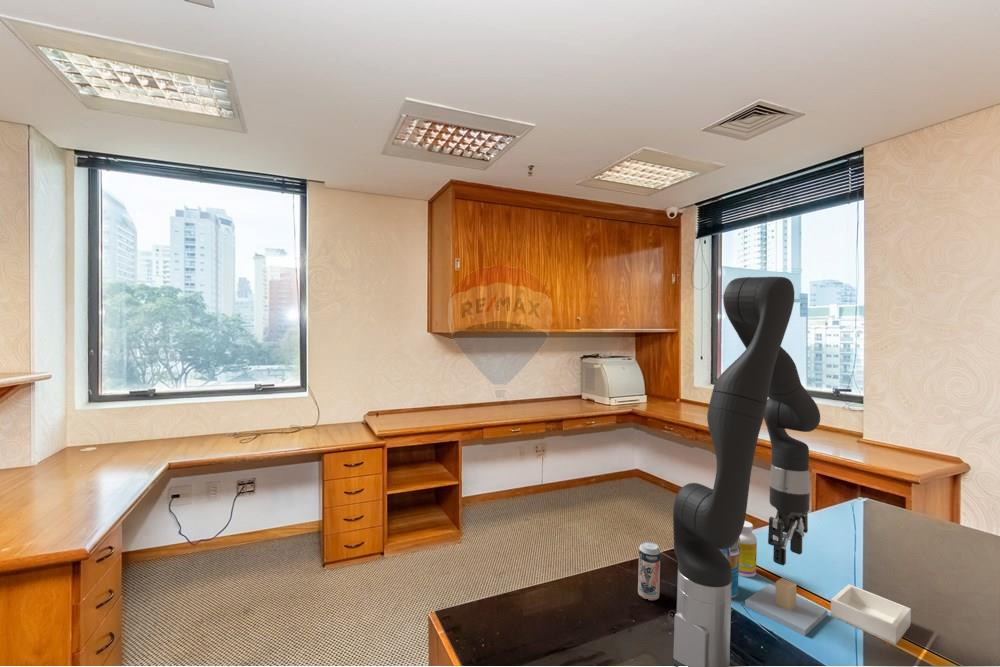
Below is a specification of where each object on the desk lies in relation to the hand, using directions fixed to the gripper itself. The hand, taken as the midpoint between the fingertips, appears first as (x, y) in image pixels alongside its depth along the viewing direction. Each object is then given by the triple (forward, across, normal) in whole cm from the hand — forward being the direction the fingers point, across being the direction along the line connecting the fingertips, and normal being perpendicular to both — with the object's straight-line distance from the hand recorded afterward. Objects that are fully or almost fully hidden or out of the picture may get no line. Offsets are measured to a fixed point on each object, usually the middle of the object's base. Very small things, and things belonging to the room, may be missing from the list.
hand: (788, 558), depth 99 cm
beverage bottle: (+12, -4, +13) cm, 19 cm away
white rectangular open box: (+12, +12, -12) cm, 21 cm away
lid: (+12, 0, 0) cm, 12 cm away
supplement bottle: (+13, +9, +14) cm, 21 cm away
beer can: (+12, -21, +21) cm, 32 cm away
